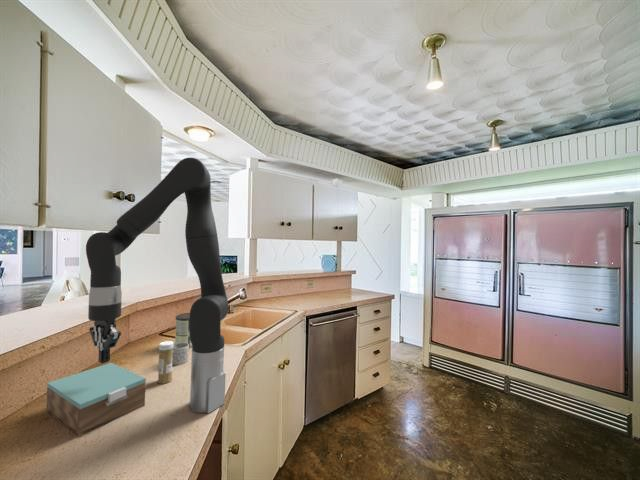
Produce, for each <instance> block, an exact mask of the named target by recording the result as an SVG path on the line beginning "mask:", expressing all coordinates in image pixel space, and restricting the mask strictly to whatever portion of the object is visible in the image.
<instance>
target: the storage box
mask: <svg viewBox="0 0 640 480" xmlns="http://www.w3.org/2000/svg"><path fill="white" fill-rule="evenodd" d="M46 388H47V389H46V413H47V414H49V415H50V416H51V417H52V418H53V419H55V420H56V421H58V422H59V423H60V424H62V425H63V426H64V427H65V428H67V429H68V430H69V431H70V432H72V433H73V434H74V435H76V436H77V437H78V438H80V437H82V436H84V435H86V434H88V433H90V432H92V431H95V430H97V429H98V428H101V427H103V426H105V425H107V424H109V423H112V422H113V421H115V420H117V419H120V418H121V417H124V416H125V415H128V414H130V413H131V412H134V411H136V410H138V409H140V408H142V407H144V406H145V405H146V404H145V403H146V382H145V383H143V384H140V385H138V386H136V387H133V388H131V389H128V390H126V395H125V396H123V397H121V398H118V399H116V400H114V401H111V402H109V401H108V398H106V399H104V400H102V401H99V402H97V403H94V404H92V405H89V406H87V407H85V408H82V409H79V408H77V407H76V406H74V405H73V404H71V403H70V402H68V401H67V400H66V399H64V398H63V397H61V396H60V395H58V394H57V393H55V392H54V391H52V390H51V389H49V388H48V387H46Z"/></svg>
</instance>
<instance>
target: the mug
mask: <svg viewBox="0 0 640 480" xmlns="http://www.w3.org/2000/svg"><path fill="white" fill-rule="evenodd" d="M189 351H190V348H189V344H188V343H176V344H175V343H173V355H172V358H173V360H172V366H180V365H184V364H187V363H188V362H189Z"/></svg>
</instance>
